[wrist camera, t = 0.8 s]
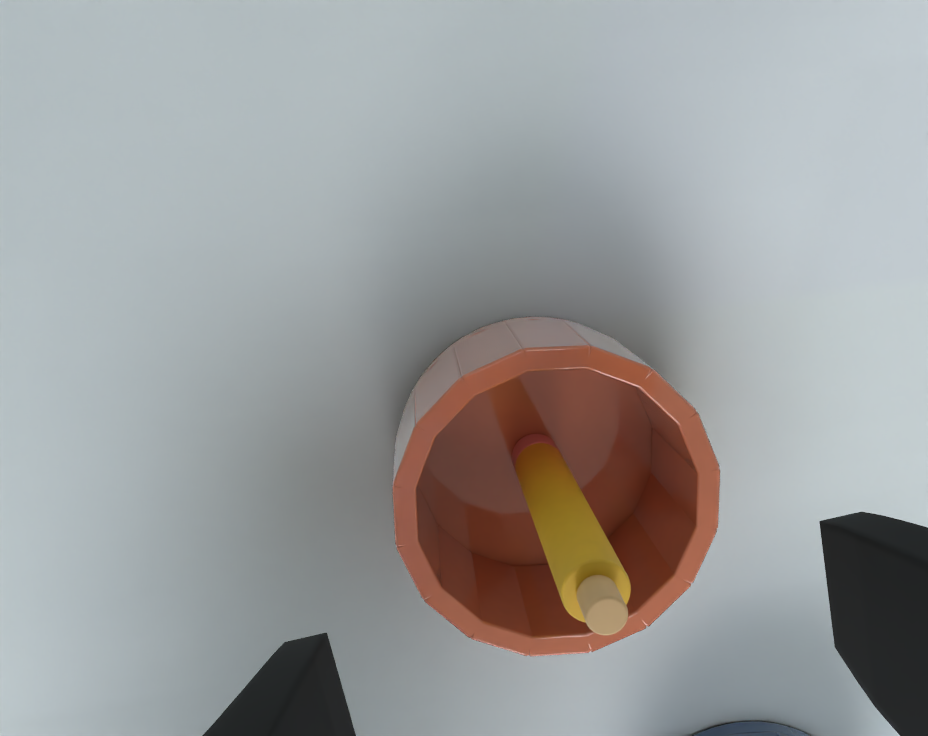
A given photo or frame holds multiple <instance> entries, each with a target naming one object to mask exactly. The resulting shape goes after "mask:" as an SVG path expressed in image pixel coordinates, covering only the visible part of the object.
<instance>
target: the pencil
mask: <svg viewBox="0 0 928 736" xmlns="http://www.w3.org/2000/svg"><path fill="white" fill-rule="evenodd" d="M512 463H513V466H514V469H515V471H516V474H517V477H518V480H519V483H520V485H521V488H522V491H523V494H524V497H525V499H526V502H527V505H528V508H529V511H530V513H531V516H532V519H533V522H534V525H535V527H536V530H537V533H538V536H539V539H540V541H541V544H542V547H543V550H544V553H545V555H546V558H547V561H548V564H549V567H550V569H551V572H552V575H553V578H554V581H555V583H556V586H557V589H558V592H559V595H560V597H561V600H562V603H563V606H564V607H565V609H566V610H567V612H568V613H569V614H570V615H571V616H573V617H574V618H575V619H577V620H579V621H582V622H585V623H586V624H587V626H588V627H589V628H590V629H591V630H592V631H593V632H595V633H597V634H600V635H612V634H615V633H617V632H618V631H620V630H621V629H622V628H623V627H624V626H625V624H626V622H627V619H628V609H627V606H626V605H627V603H628V600H629V598H630V593H631V584H630V580H629V577H628V575H627V573H626V572H625V570H624V568H623V566H622V564H621V562H620V561H619V559H618V557H617V555H616V553H615V552H614V550H613V548H612V546H611V544H610V542H609V541H608V539H607V537H606V535H605V533H604V531H603V530H602V528H601V526H600V524H599V522H598V521H597V519H596V517H595V515H594V513H593V511H592V510H591V508H590V506H589V504H588V502H587V500H586V499H585V497H584V495H583V493H582V491H581V490H580V488H579V486H578V484H577V482H576V480H575V479H574V477H573V475H572V473H571V471H570V470H569V468H568V466H567V464H566V462H565V460H564V459H563V457H562V455H561V453H560V451H559V449H558V448H557V446H556V444H555V443H554V441H553V440H552V439H550V438H549V437H547V436H545V435H542V434H530V435H527V436H525V437H523V438H522V439H520V440H519V441H518V442H517V443H516V445H515V447H514V449H513V452H512Z"/></svg>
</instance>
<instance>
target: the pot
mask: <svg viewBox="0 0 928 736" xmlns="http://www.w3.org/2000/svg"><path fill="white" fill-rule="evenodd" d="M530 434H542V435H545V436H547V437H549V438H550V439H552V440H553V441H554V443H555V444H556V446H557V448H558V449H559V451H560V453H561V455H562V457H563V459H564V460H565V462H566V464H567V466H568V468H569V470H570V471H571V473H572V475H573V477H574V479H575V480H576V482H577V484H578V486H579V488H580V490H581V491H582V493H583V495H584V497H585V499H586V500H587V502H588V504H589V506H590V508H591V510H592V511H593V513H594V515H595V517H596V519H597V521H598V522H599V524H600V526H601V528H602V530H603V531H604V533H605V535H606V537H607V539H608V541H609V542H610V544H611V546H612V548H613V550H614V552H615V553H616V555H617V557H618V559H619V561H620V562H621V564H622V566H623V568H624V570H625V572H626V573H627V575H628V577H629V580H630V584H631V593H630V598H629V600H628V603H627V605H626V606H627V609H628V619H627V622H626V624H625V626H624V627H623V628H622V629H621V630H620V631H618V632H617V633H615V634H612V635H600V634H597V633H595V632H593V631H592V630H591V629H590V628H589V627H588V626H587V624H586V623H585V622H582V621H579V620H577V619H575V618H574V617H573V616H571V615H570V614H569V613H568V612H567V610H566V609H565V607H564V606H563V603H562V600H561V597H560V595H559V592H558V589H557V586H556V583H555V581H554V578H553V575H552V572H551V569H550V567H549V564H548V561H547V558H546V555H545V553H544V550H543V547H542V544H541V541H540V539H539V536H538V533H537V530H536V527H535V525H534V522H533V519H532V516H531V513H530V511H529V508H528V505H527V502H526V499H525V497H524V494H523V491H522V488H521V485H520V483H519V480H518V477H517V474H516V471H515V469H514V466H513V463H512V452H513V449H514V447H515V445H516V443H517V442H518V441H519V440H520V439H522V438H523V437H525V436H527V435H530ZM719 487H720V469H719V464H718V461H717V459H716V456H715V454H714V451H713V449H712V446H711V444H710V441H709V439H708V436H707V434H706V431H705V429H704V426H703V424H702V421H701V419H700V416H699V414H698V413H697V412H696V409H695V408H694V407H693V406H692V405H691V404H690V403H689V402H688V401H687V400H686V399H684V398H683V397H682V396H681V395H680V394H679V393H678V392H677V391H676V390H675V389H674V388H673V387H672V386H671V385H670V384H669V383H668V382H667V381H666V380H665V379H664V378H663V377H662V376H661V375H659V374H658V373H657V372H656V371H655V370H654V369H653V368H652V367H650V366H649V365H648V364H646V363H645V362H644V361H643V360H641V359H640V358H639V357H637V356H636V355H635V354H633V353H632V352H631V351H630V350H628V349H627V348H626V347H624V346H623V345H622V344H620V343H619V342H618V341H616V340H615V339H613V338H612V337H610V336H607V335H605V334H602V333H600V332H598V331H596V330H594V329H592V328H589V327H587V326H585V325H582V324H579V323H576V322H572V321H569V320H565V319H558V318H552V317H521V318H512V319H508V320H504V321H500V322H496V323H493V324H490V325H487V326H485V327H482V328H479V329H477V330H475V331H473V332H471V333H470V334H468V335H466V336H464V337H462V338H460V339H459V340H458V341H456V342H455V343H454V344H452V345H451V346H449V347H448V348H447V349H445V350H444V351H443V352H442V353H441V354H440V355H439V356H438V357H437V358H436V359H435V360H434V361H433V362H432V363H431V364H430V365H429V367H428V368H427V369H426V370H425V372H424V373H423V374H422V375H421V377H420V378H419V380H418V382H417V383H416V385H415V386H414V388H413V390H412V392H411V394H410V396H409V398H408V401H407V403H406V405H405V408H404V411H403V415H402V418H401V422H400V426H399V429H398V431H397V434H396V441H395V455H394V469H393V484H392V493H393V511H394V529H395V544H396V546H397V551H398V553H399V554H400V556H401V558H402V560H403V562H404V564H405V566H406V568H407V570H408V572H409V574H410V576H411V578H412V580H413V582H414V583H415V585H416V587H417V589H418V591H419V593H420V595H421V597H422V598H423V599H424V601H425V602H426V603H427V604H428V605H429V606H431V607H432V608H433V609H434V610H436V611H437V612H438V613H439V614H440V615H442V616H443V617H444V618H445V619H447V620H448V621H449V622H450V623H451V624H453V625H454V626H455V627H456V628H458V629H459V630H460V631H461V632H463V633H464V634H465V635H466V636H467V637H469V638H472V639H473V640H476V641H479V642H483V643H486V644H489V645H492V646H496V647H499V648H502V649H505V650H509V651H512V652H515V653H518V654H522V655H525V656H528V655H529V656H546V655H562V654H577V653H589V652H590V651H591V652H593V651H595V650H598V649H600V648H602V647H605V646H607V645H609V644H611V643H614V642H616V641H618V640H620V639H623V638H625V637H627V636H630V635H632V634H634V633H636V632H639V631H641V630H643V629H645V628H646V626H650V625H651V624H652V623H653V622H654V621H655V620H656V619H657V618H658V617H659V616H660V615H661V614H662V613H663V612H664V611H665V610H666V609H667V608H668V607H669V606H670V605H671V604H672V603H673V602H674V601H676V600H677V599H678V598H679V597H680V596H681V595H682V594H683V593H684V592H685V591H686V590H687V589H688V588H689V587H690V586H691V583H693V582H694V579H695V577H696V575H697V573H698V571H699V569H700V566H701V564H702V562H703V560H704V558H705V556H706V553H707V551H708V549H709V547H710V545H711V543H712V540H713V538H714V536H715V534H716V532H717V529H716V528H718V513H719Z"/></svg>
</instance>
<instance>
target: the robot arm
mask: <svg viewBox="0 0 928 736" xmlns="http://www.w3.org/2000/svg"><path fill="white" fill-rule="evenodd" d="M820 529H821V537H822V545H823V554H824V562H825V570H826V578H827V586H828V595H829V603H830V611H831V619H832V627H833V636H834V644H835V648H836V650H837V651H838V653H839V654H840V656H841V657H842V659H843V660H844V662H845V663H846V665H847V666H848V668H849V669H850V671H851V673H852V674H853V676H854V677H855V679H856V680H857V682H858V683H859V684H860V686H861V687H862V689H863V690H864V692H865V693H866V694H867V696H868V697H869V699H870V700H871V702H872V703H873V704H874V706H875V707H876V708H877V709H878V711H879V712H880V713H881V714H882V715H883V716H884V718H885V719H886V720H887V721H888V722H889V723H890V725H891V726H892V727H893V728H894V729H895V730H896V731H897V733H898V734H899V735H900V736H928V528H927V527H924V526H920V525H917V524H913V523H909V522H905V521H902V520H898V519H894V518H890V517H886V516H881V515H877V514H871V513H865V512H858V513H854V514H849V515H845V516H841V517H836V518H832V519H827V520H823V521H820ZM203 736H356V735H355V731H354V728H353V724H352V720H351V717H350V713H349V710H348V706H347V703H346V699H345V696H344V692H343V689H342V685H341V681H340V678H339V674H338V671H337V667H336V664H335V660H334V657H333V653H332V649H331V646H330V642H329V639H328V635H327V633H323V634H319V635H314V636H310V637H305V638H301V639H297V640H292V641H288V642H285V643H284V644H283V645H282V646H281V647H280V648H279V649H278V650H277V651H276V652H275V653H274V654H273V655H272V656H271V657H270V659H269V660H268V661H267V662H266V663H265V664H264V665H263V667H262V668H261V669H260V670H259V671H258V673H257V674H256V675H255V676H254V677H253V678H252V680H251V681H250V682H249V683H248V684H247V686H246V687H245V688H244V689H243V690H242V691H241V693H240V694H239V695H238V696H237V697H236V698H235V699H234V701H233V702H232V703H231V704H230V705H229V706H228V708H227V709H226V710H225V711H224V712H223V713H222V714H221V716H220V717H219V718H218V719H217V720H216V721H215V723H214V724H213V725H212V726H211V727H210V728H209V729H208V730H207V731H206V732H205V734H204V735H203Z"/></svg>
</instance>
